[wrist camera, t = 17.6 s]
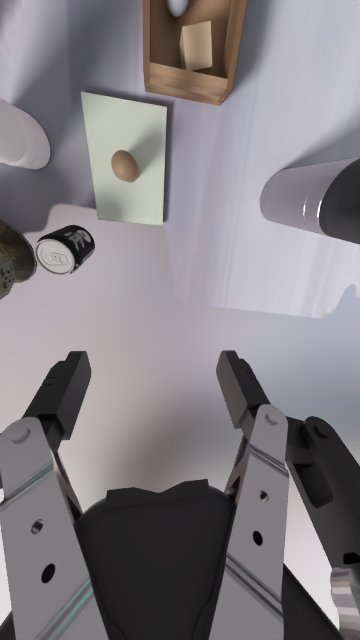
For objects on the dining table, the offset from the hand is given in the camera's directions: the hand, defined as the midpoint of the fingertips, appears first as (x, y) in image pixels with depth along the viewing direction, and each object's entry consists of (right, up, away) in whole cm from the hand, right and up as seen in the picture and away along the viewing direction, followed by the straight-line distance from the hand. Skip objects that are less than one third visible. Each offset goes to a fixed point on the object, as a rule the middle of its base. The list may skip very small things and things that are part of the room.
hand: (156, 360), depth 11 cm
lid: (-8, +29, +22) cm, 38 cm away
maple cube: (+3, +40, +16) cm, 43 cm away
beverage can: (-20, +19, +28) cm, 40 cm away
